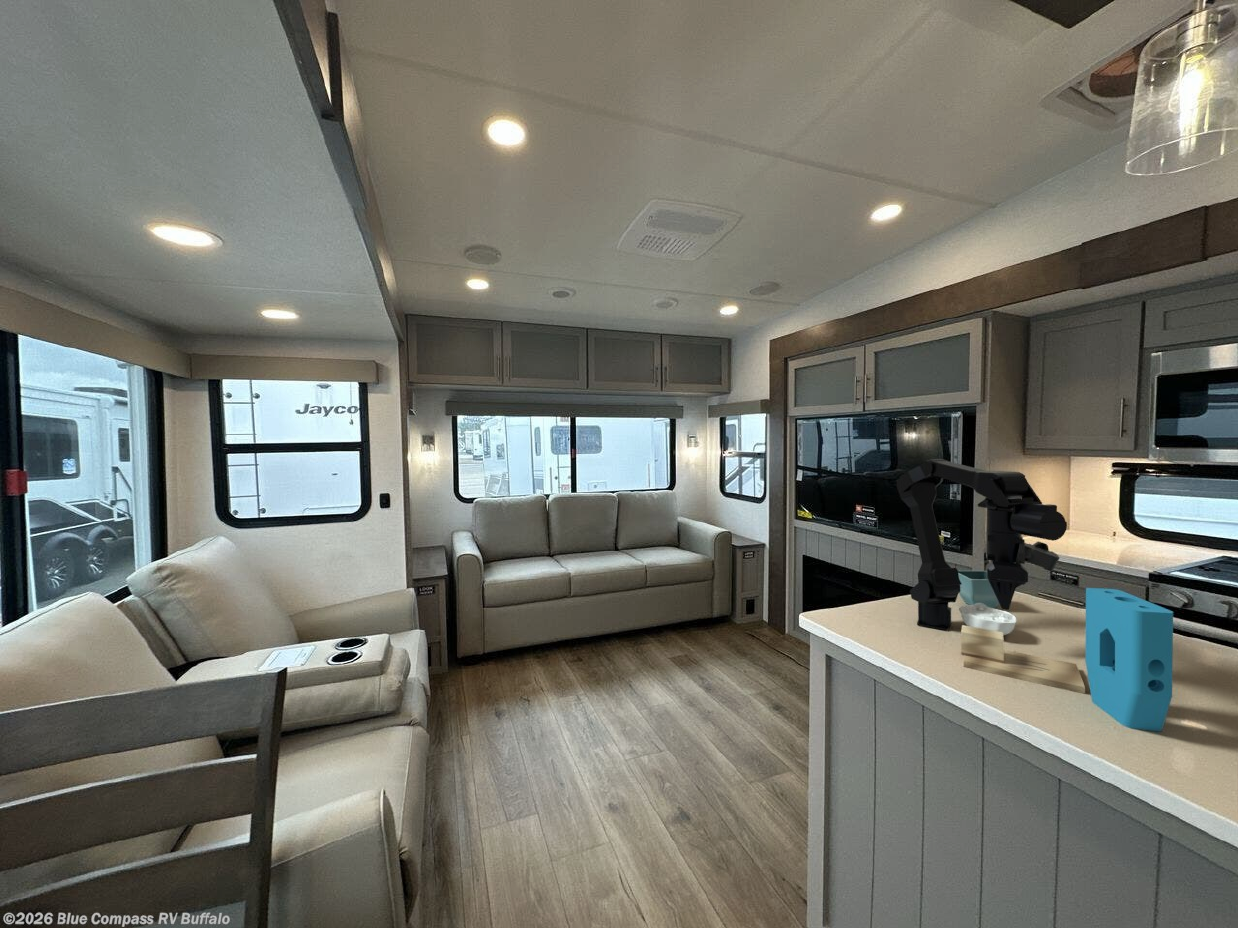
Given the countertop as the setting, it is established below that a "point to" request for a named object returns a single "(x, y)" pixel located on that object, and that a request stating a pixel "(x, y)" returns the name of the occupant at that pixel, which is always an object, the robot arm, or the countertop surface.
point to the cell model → (988, 618)
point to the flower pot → (977, 588)
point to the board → (1032, 670)
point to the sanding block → (982, 644)
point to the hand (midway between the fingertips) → (1003, 602)
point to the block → (1129, 657)
